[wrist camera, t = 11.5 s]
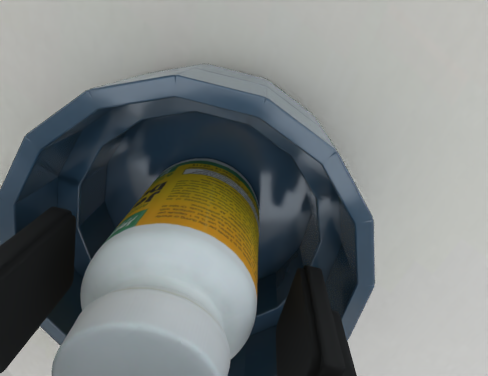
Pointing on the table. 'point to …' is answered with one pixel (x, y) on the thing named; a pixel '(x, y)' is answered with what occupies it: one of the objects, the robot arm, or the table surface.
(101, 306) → the supplement bottle
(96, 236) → the bowl
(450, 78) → the table surface
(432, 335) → the table surface
